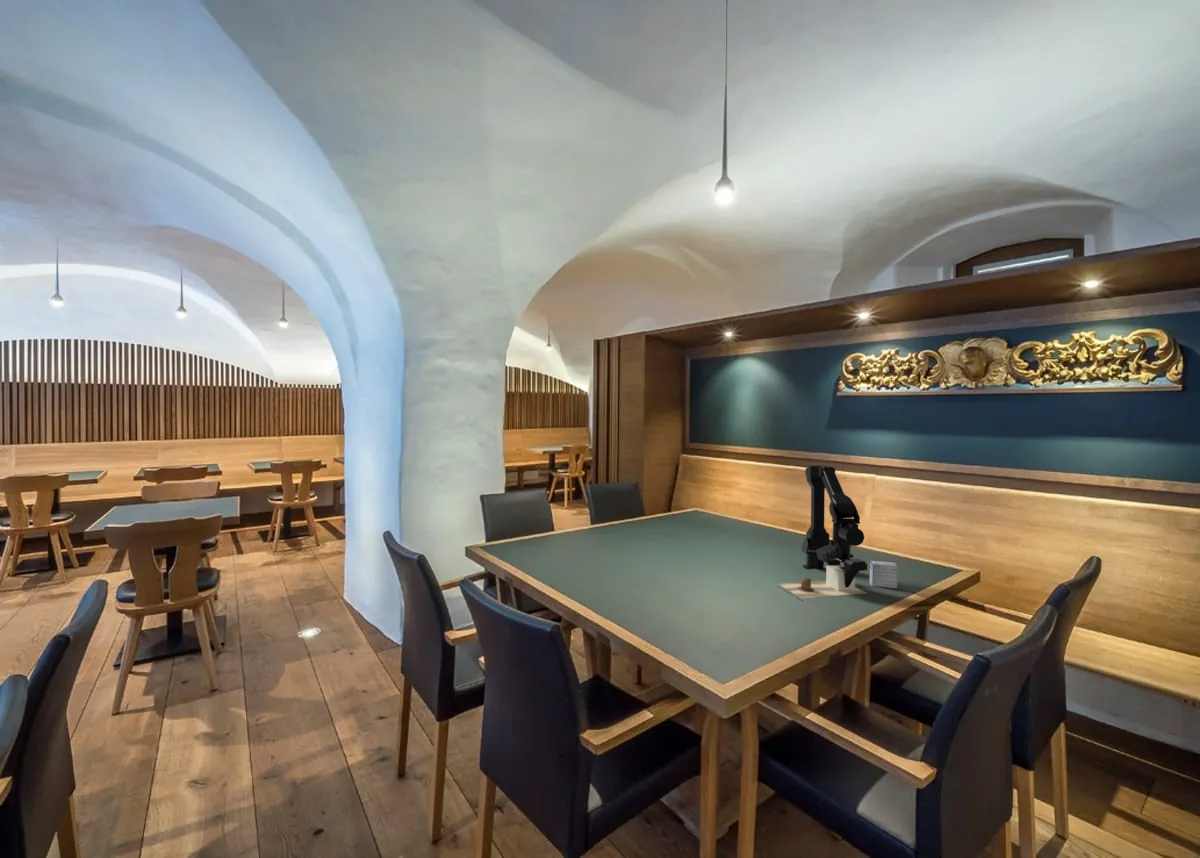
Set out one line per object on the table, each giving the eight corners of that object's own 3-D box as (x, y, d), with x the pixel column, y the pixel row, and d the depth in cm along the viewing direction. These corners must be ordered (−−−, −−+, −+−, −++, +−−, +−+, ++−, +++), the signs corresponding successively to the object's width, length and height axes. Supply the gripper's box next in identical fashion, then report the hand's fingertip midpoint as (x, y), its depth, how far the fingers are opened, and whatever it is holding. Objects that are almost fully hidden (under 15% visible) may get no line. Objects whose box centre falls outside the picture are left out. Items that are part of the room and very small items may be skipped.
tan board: (778, 586, 186) (778, 573, 186) (839, 582, 192) (839, 569, 192) (801, 601, 173) (802, 587, 173) (867, 596, 178) (867, 582, 178)
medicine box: (894, 587, 188) (895, 562, 187) (897, 591, 183) (898, 566, 183) (868, 584, 190) (869, 560, 189) (871, 589, 185) (872, 564, 185)
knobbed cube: (825, 584, 186) (826, 563, 186) (842, 583, 188) (842, 562, 187) (837, 590, 180) (838, 569, 180) (854, 589, 181) (855, 568, 181)
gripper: (804, 532, 190) (802, 576, 191) (838, 546, 172) (837, 595, 173) (832, 531, 193) (830, 574, 194) (869, 544, 175) (867, 592, 175)
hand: (840, 583), depth 184 cm, fingers closed on knobbed cube, 6 cm apart
